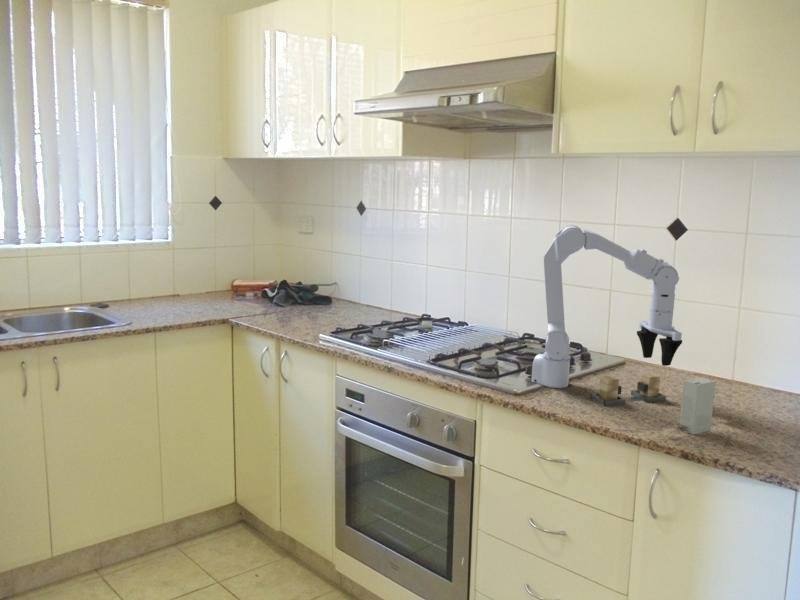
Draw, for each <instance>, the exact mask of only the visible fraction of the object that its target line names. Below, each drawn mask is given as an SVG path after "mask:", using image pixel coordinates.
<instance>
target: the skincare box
mask: <svg viewBox="0 0 800 600" xmlns="http://www.w3.org/2000/svg"><path fill="white" fill-rule="evenodd" d="M682 385H683V387H682V396H681V405H680V411H679V412H680V415H679V420H678V421H679V422H678V423H679V424H680V425H682V426H678V429H679V430H680V431H682V430H683V431H682V432H684V431H686V432H685V433H687V432H688V433H687V434H689V433H690V435H697V434H702V433H707V432H709V431H711V427H712V419H713V410H714V401H715V392H716V385H717V382H716V381H715V380H713V379H710V378H709V379H708V378H705V377H701V376H700V377H695V378H689V379H684V380H683V384H682Z"/></svg>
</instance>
